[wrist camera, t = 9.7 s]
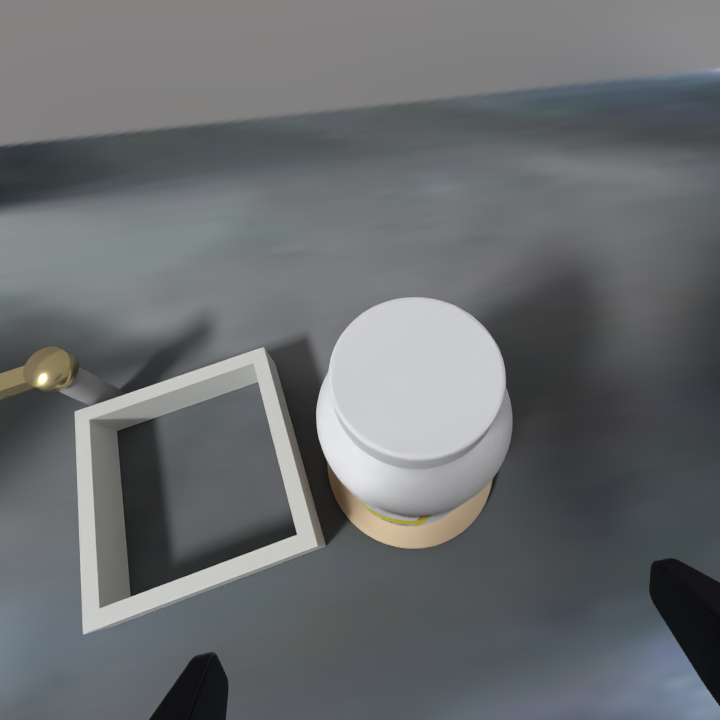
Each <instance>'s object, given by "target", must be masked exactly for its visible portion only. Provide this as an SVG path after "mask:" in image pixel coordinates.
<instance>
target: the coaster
mask: <svg viewBox="0 0 720 720" xmlns="http://www.w3.org/2000/svg"><path fill="white" fill-rule="evenodd" d="M327 468H328V476H329V481H330V485H331V489H332V491H333V494H334V496H335V499H336V501H337V502H338V504H339V506H340V508H341V509H342V511H343V512H344V513H345V515H346V516H347V517H348V519H349V520H350V521H351V522H352V523H353V524H354V525H355V526H356V527H357V528H359V529H360V530H361V531H363V532H364V533H365V534H367V535H368V536H370V537H372V538H374V539H375V540H378V541H380V542H382V543H385V544H388V545H391V546H395V547H401V548H425V547H431V546H435V545H438V544H441V543H444V542H446V541H448V540H450V539H452V538H454V537H456V536H457V535H458V534H460V533H461V532H463V531H464V530H465V529H466V528H467V527H468V526H469V525H470V524H471V523H472V522H473V521H474V520H475V519H476V517H477V516H478V515H479V514H480V512H481V510H482V508H483V507H484V505H485V503H486V500H487V498H488V495H489V493H490V489H491V485H492V480H491V481H490V482H489V483H488V484H487V485H486V487H485V488H484V489H483V490H482V491H480V492H479V493H478V494H477V495H475V496H474V497H473V498H471V499H470V500H468V501H466V502H465V503H463V504H462V505H460V506H459V507H457V508H456V509H455V510H453V511H452V512H450V513H449V514H448V515H446V516H445V517H443V518H441V519H439V520H437V521H435V522H433V523H430V524H426V525H421V526H413V527H411V526H400V525H395V524H391V523H389V522H386V521H384V520H382V519H380V518H378V517H376V516H375V515H373V514H372V513H370V512H369V511H368V510H367V509H366V508H365V507H363V506H362V505H361V503H360V502H359V501H358V500H357V499H356V498H355V497H354V496H353V494H352V493H351V492H350V491H349V490H348V489H347V488H346V487H345V486H344V484H343V483H342V482H341V481H340V480H339V479H338V477H337V476H336V474H335V473H334V472H333V470H332V469H331V467H330V465H329V463H328V462H327Z"/></svg>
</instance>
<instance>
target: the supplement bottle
mask: <svg viewBox="0 0 720 720" xmlns="http://www.w3.org/2000/svg"><path fill="white" fill-rule="evenodd" d="M316 421H317V432H318V437H319V441H320V444H321V447H322V450H323V453H324V455H325V457H326V459H327V462H328V463H329V465H330V467H331V469H332V470H333V472H334V473H335V474H336V476H337V477H338V479H339V480H340V481H341V482H342V483H343V484H344V486H345V487H346V488H347V489H348V490H349V491H350V492H351V493H352V494H353V496H354V497H355V498H356V499H357V500H358V501H359V502H360V503H361V505H362V506H363V507H365V508H366V509H367V510H368V511H369V512H370V513H372V514H373V515H375V516H376V517H378V518H380V519H382V520H384V521H386V522H389V523H391V524H395V525H400V526H411V527H413V526H421V525H426V524H430V523H433V522H435V521H437V520H439V519H441V518H443V517H445V516H446V515H448V514H449V513H450V512H452V511H453V510H455V509H456V508H457V507H459V506H460V505H462V504H463V503H465V502H466V501H468V500H470V499H471V498H473V497H474V496H475V495H477V494H478V493H479V492H480V491H482V490H483V489H484V488H485V487H486V485H487V484H488V483H489V482H490V481H491V480H492V479H493V477H494V476H495V475H496V473H497V472H498V470H499V468H500V466H501V465H502V463H503V461H504V459H505V456H506V454H507V451H508V448H509V444H510V441H511V435H512V423H513V418H512V408H511V402H510V397H509V394H508V391H507V388H506V371H505V366H504V361H503V357H502V355H501V352H500V350H499V348H498V346H497V344H496V342H495V340H494V339H493V337H492V336H491V335H490V333H489V332H488V331H487V329H486V328H485V327H484V326H483V325H482V324H481V323H480V322H478V321H477V320H476V319H475V318H474V317H473V316H471V315H470V314H469V313H467V312H466V311H464V310H462V309H461V308H458V307H456V306H454V305H452V304H450V303H447V302H444V301H440V300H437V299H431V298H422V297H408V298H399V299H395V300H390V301H387V302H384V303H381V304H378V305H376V306H374V307H372V308H371V309H369V310H367V311H365V312H364V313H362V314H361V315H360V316H358V317H357V318H356V319H355V320H354V321H353V322H352V323H351V324H350V325H349V326H348V327H347V328H346V329H345V331H344V332H343V333H342V335H341V336H340V338H339V339H338V341H337V344H336V346H335V348H334V350H333V353H332V356H331V360H330V365H329V371H328V373H327V375H326V377H325V379H324V381H323V384H322V386H321V389H320V393H319V397H318V402H317V410H316Z"/></svg>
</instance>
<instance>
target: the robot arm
mask: <svg viewBox="0 0 720 720" xmlns="http://www.w3.org/2000/svg"><path fill="white" fill-rule="evenodd" d="M649 592H650V596H651V599H652V601H653V603H654V605H655V606H656V608H657V610H658V611H659V613H660V614H661V616H662V618H663V619H664V621H665V622H666V624H667V626H668V627H669V629H670V630H671V632H672V634H673V635H674V637H675V638H676V640H677V642H678V643H679V645H680V647H681V648H682V650H683V651H684V653H685V655H686V656H687V658H688V659H689V661H690V663H691V664H692V666H693V667H694V669H695V671H696V672H697V674H698V675H699V677H700V678H701V680H702V681H703V683H704V684H705V686H706V687H707V689H708V690H709V692H710V693H711V695H712V696H713V697H714V699H715V700H716V702H717V703H718V704H719V706H720V582H718V581H716V580H714V579H712V578H710V577H709V576H707V575H705V574H703V573H701V572H699V571H698V570H696V569H694V568H692V567H690V566H688V565H686V564H685V563H683V562H681V561H679V560H676V559H673V558H668V559H663V560H658V561H654V562H653V563H652V564H651V571H650V585H649ZM227 700H228V679H227V676H226V674H225V672H224V669H223V667H222V665H221V663H220V661H219V658H218V656H217V655H216V654H215V653H214V652H210V653H205V654H200V655H197V656H195V657H193V658H192V659H191V661H190V662H189V663H188V665H187V666H186V668H185V669H184V670H183V672H182V673H181V675H180V676H179V678H178V679H177V680H176V682H175V683H174V685H173V686H172V688H171V689H170V690H169V692H168V693H167V695H166V696H165V698H164V699H163V700H162V702H161V703H160V705H159V706H158V708H157V709H156V710H155V712H154V713H153V715H152V716H151V718H150V719H149V720H226V710H227Z"/></svg>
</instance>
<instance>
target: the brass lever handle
mask: <svg viewBox="0 0 720 720" xmlns="http://www.w3.org/2000/svg"><path fill="white" fill-rule="evenodd" d="M78 371H79V363H78V360H77V359H76V358H75V357H74V356H73V355H71V354H69V353H68V352H66V351H64V350H62V349H61V348H59V347H55V346H50V347H45V348H42V349H40V350H38V351H37V352H35V353H34V354H33V355H32V356H31V357H30V358H29V359H28V361H27V362H26V364H25V366H22V367H19V368H16V369H13V370H10V371H7V372H4V373H1V374H0V400H1V399H4V398H6V397H9V396H12V395H15V394H18V393H21V392H24V391H27V390H30V389H33V388H38V389H40V390H42V391H45V392H48V393H55V392H59V391H61V390H63V389H65V388H66V387H68V386H69V385H70V384H71V383H72V382H73V381H74V379H75V378H76V376H77V374H78Z"/></svg>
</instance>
